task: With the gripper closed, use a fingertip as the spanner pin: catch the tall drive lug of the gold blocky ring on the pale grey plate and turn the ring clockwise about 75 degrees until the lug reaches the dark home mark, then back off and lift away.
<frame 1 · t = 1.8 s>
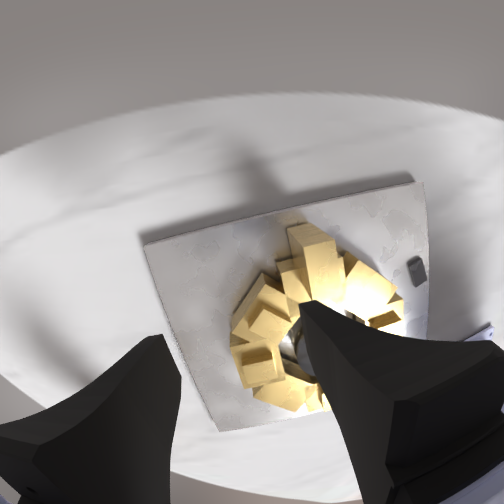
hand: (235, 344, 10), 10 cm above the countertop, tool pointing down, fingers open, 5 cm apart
plate: (313, 323, 22), on the countertop
gold blocky ring: (324, 338, 18), point 4 cm above the countertop, hinge at 0.0°
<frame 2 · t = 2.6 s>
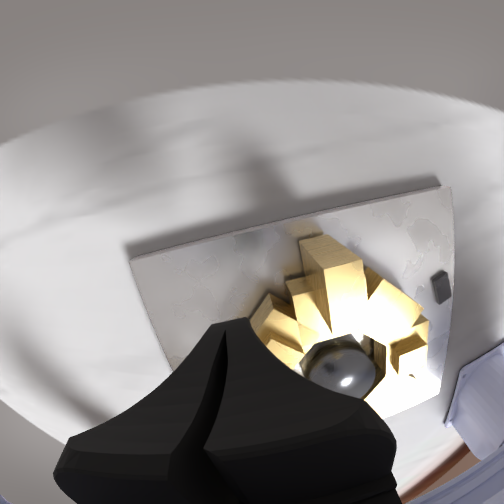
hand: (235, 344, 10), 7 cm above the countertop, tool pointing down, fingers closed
plate: (325, 346, 19), on the countertop
gold blocky ring: (340, 368, 15), point 4 cm above the countertop, hinge at 0.0°
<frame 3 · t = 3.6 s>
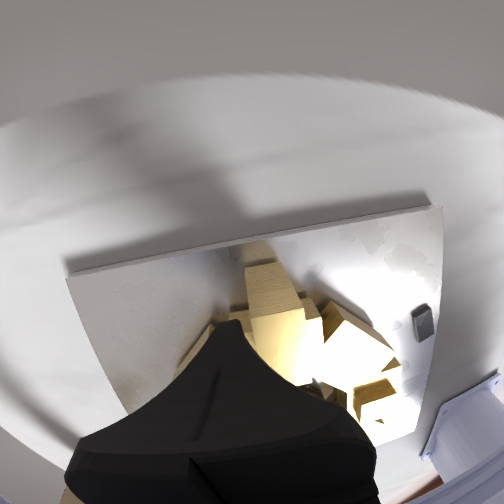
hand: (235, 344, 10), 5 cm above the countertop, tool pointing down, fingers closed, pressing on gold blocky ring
plate: (282, 381, 16), on the countertop
gold blocky ring: (290, 414, 13), point 4 cm above the countertop, hinge at 0.0°, touching gripper
handle: (100, 458, 19), on the countertop
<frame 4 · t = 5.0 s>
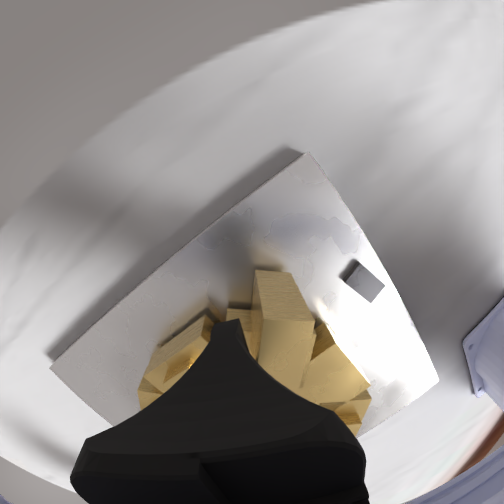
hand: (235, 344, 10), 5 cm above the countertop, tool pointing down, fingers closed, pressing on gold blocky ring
plate: (252, 387, 17), on the countertop
gold blocky ring: (258, 419, 13), point 4 cm above the countertop, hinge at 43.7°, touching gripper
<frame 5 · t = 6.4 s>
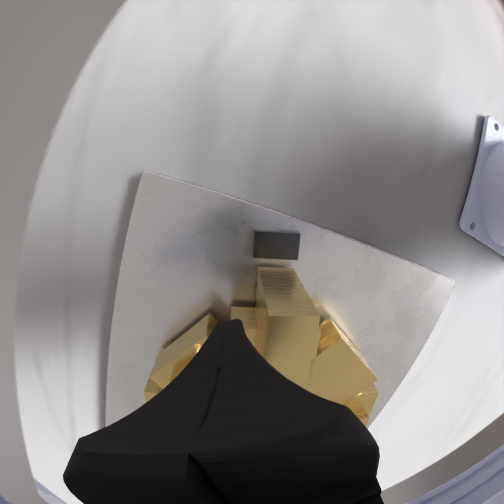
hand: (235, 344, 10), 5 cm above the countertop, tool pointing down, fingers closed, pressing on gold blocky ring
plate: (259, 384, 17), on the countertop
gold blocky ring: (266, 416, 13), point 4 cm above the countertop, hinge at 75.4°, touching gripper
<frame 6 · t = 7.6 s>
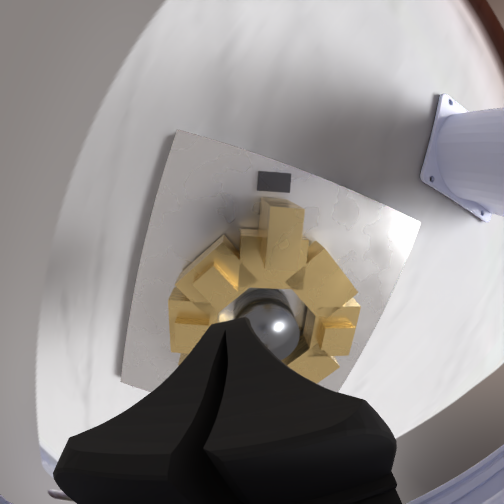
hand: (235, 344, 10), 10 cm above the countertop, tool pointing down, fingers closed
plate: (261, 308, 21), on the countertop
gold blocky ring: (268, 321, 17), point 4 cm above the countertop, hinge at 75.5°
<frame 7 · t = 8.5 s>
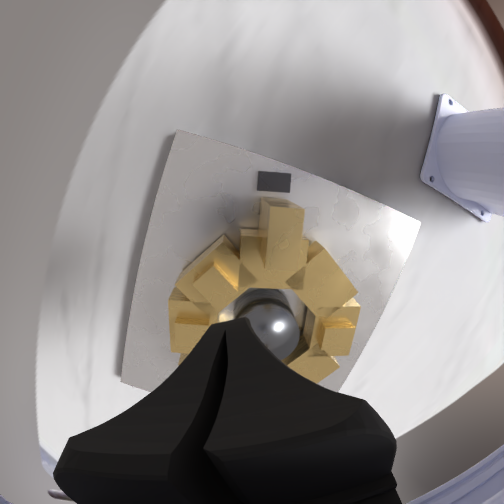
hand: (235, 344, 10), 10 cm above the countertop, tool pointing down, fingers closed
plate: (261, 308, 21), on the countertop
gold blocky ring: (268, 321, 17), point 4 cm above the countertop, hinge at 75.5°
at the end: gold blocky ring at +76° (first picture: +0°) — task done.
